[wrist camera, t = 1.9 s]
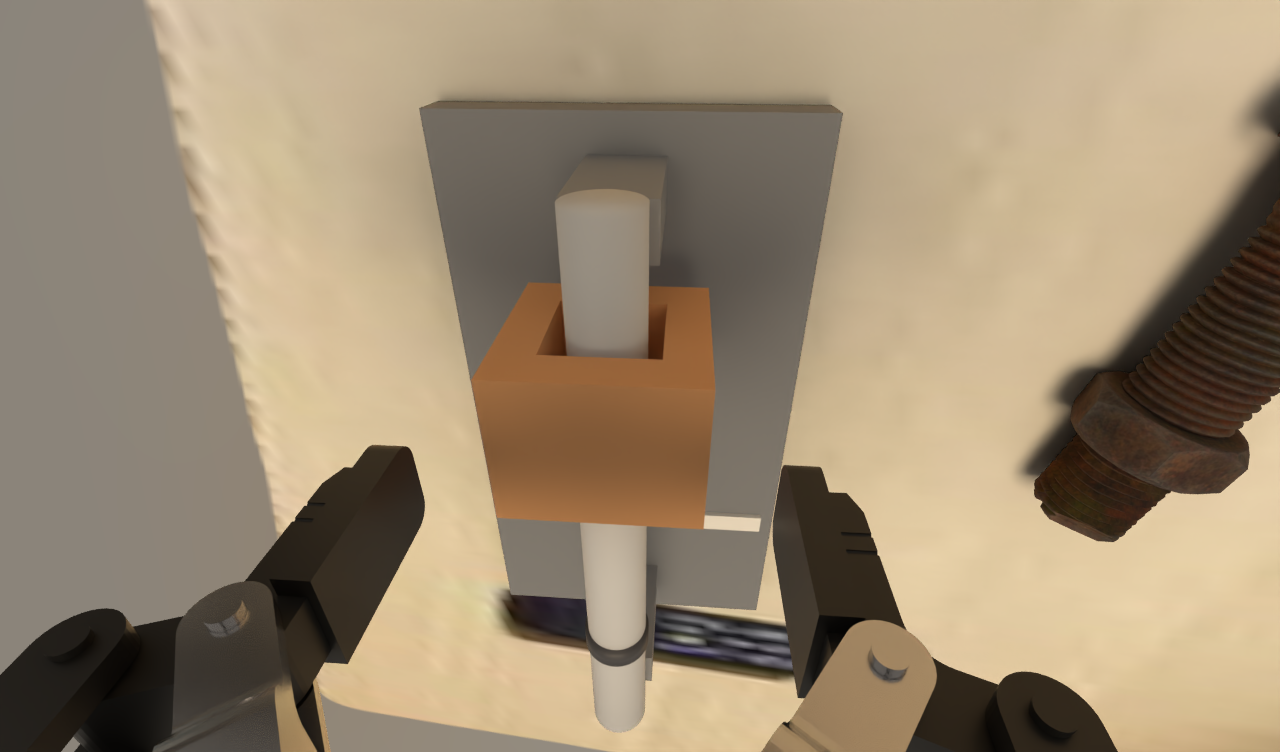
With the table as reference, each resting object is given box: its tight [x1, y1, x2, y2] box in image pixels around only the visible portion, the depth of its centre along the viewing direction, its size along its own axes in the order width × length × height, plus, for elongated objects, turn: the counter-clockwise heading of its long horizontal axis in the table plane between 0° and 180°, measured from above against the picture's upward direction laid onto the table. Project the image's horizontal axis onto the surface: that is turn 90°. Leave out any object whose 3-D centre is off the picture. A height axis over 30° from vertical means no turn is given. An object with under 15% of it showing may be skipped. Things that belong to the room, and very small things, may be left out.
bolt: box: [1034, 132, 1280, 542], centre depth 18 cm, size 6×5×15 cm
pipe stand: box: [419, 101, 843, 733], centre depth 20 cm, size 22×12×8 cm, turn 0°
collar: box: [471, 282, 715, 529], centre depth 15 cm, size 4×5×5 cm
